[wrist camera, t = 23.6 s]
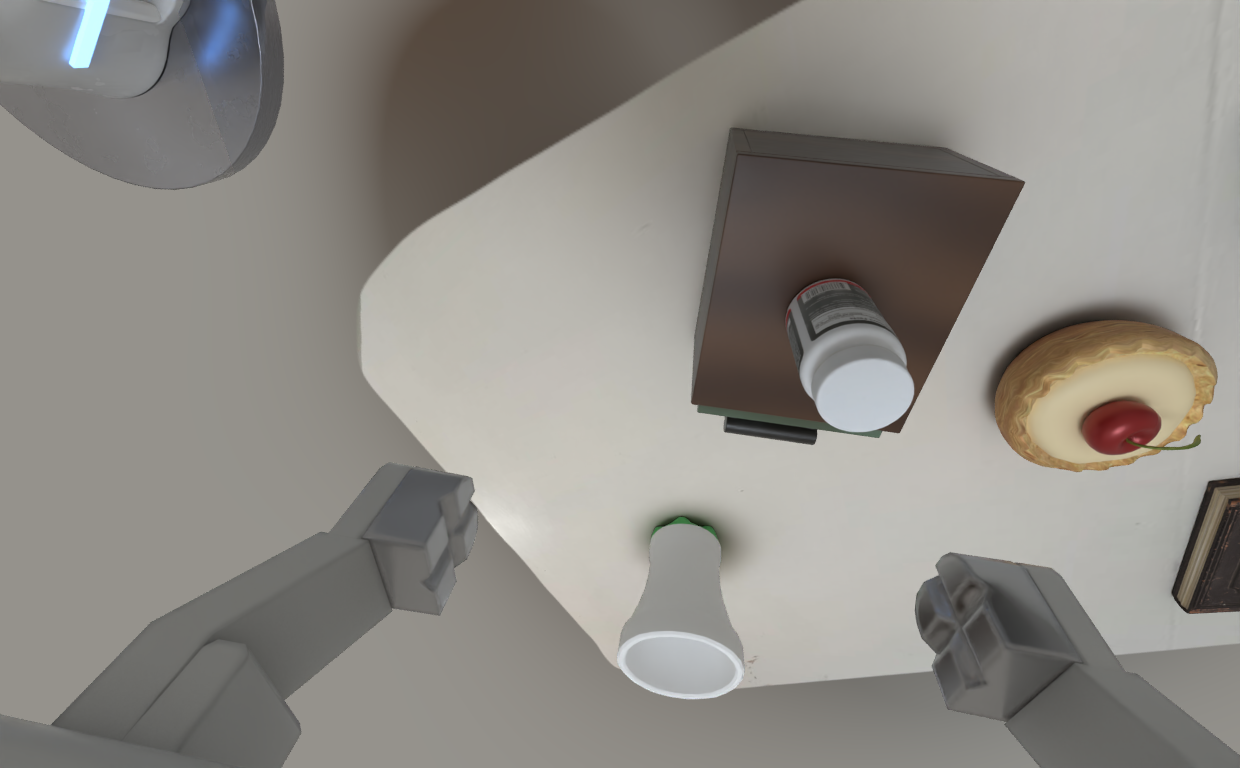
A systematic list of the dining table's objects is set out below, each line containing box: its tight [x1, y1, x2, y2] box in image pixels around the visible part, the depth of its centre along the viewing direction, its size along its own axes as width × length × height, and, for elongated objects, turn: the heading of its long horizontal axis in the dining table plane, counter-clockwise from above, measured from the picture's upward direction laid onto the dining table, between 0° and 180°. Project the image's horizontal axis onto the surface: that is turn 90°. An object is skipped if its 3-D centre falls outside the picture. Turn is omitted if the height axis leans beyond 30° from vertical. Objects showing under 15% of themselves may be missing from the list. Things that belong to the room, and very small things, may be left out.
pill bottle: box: [786, 279, 914, 432], centre depth 25 cm, size 5×5×8 cm
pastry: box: [995, 320, 1218, 472], centre depth 35 cm, size 12×12×9 cm
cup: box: [617, 517, 745, 699], centre depth 50 cm, size 11×11×14 cm
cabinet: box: [691, 128, 1025, 433], centre depth 33 cm, size 16×14×10 cm
